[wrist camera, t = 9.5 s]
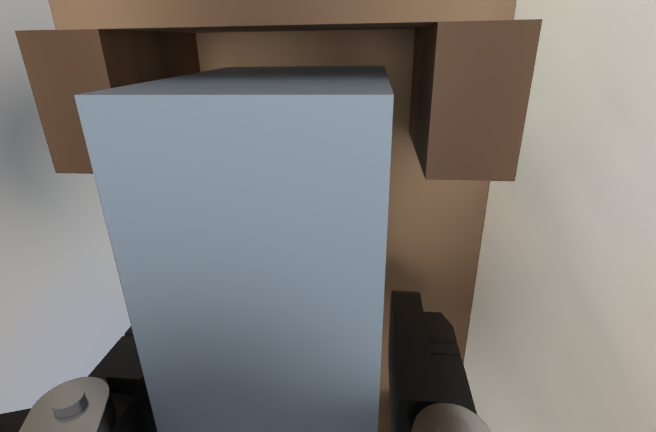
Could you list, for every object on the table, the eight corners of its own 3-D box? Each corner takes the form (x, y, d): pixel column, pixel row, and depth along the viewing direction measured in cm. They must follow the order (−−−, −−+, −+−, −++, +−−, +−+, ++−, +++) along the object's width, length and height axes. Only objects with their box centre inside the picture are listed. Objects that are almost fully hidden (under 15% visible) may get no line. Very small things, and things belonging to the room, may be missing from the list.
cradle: (513, -65, 10) (634, -158, 5) (442, 456, 17) (466, 612, 12) (118, -48, 11) (-73, -114, 6) (207, 436, 18) (149, 572, 13)
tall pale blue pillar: (384, 65, 10) (394, 94, 5) (370, 430, 15) (367, 649, 10) (228, 66, 11) (74, 95, 5) (265, 421, 16) (205, 627, 10)
